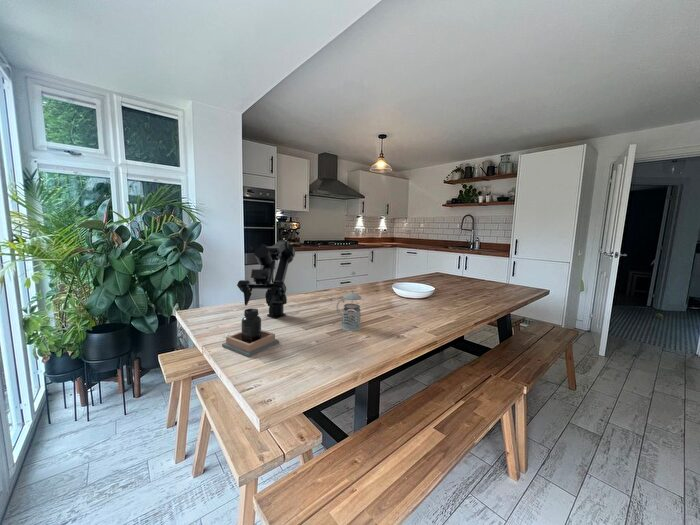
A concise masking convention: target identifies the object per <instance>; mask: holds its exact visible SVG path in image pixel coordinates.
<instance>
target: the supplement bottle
mask: <svg viewBox="0 0 700 525" xmlns="http://www.w3.org/2000/svg"><path fill="white" fill-rule="evenodd" d="M243 311H244V312H243V313H244V314H243V316H244V317H242V319H241V331H242V341H243V342H246V343H249V344H250V343H252V342H254V341H257V340H259V339H261V330H262V317H261V316H259V309H258V308H247V309H244V310H243Z"/></svg>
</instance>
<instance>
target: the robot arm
mask: <svg viewBox="0 0 700 525" xmlns="http://www.w3.org/2000/svg"><path fill="white" fill-rule="evenodd" d="M253 253H254V257H255V259H256V261H257V263H258V265H260V268H258V269H257V268H256V269H254V268H253V269H251V272H250V278H251V279H253V282H254V283H251V282H250V281H249V279H246V280H245V279H244V280H242V279H241V280H238V282H237V284H236V286H237V288H238V289H239V290H240V291H241V292H242V293H243V299H244V306H245V307H246V306H248V303H249V302H250V298H251V296H252V291H253V289H258V290H261V289H262V290H266V291H265V303H266V304H267V306H268V314H267V315H266V316H267V317H271V318H273V319H279V318H281V317H284V316H286V315H287V314H286V313H284V306H285V305H287V303H288V298H287V295H286V293H287V286H286V284H285V279H286V274H287V271H288V267H289V264H290V263H292V262H293V261H294V257H296V250H295V247H294V245H292V244H290V242H289V241H288V240H281V239H280V240H277V242H276V243H274V244H273V245H272V246H267V245H266V244H261V246H260V247H257V248H256V249H255V250H254V252H253ZM275 261H276V262H277V261H278V262H279V263H278V266H277V269H276V262H275ZM275 270H276V273H275V276H274V277H273V275H274V272H275Z"/></svg>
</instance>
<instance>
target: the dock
mask: <svg viewBox="0 0 700 525" xmlns="http://www.w3.org/2000/svg"><path fill="white" fill-rule="evenodd" d="M279 343H280V340H279V339H276V333H273V332H269V331H267V330H263V329H261V339H259V340H257V341H254V342H252V343H250V344H249V343H246V342H243V341H242V330H241V331H238V332H236V333H233V334H231V335H228V336H226V338H225V342H223V343H221V347H222V348H225V349H227V350H230V351H232V352H235V353H238V354H240V355H241V356H244V357H248V358H250V357H252V356H254V355H256V354H259V353H260V352H262V351H264V350H267V349H268V348H271V347H273V346H275V345H277V344H279Z"/></svg>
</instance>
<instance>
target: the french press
mask: <svg viewBox="0 0 700 525" xmlns="http://www.w3.org/2000/svg"><path fill="white" fill-rule="evenodd" d="M350 275H352V276H354V275H356V272H355V271H351V272H350ZM351 286H352V288H351V290H352V291H351V292H349V293H346V294H344V295H343V296H342V297H343V298H341V299H340V300H339V301H337V303H336V311H337V313H339V312H340V310H339V303H340V302H341V301H342V303H344V302H345V301H343V300H348V301H359V300H362V296H361V295H359V294H357V293H355V292H354V291H353V290H354V284H352V285H351ZM360 307H361V306H360V305H359V304H357V303H352V302H351V303H345V304H343V309H342V312H340V313H339V316H341V317H342V318H341V320H342V321H341V324H340V326H339V327H340V329H341V330H343V331H347V332H358V331H361V330H362V329H363V327H362V325H361V308H360ZM361 328H362V329H361ZM360 329H361V330H360ZM357 330H358V331H357Z"/></svg>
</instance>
